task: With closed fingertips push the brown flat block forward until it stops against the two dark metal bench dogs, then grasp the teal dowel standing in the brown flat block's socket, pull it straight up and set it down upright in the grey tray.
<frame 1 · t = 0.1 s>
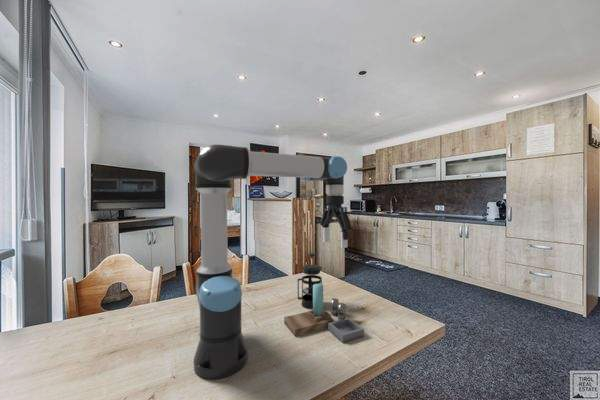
hand: (334, 244, 107), 28 cm above the table, fingers open, 13 cm apart
bench dogs: (338, 316, 100), on the table
brown flat block: (308, 326, 94), on the table, touching dowel
dowel: (318, 316, 96), point 2 cm above the table, touching brown flat block
french press: (310, 305, 112), on the table
tray: (345, 333, 88), on the table
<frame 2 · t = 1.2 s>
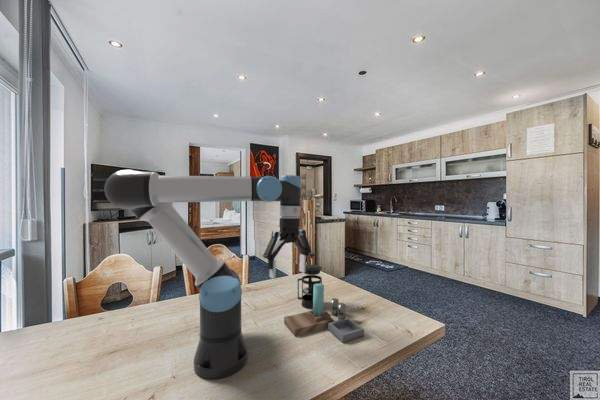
hand: (287, 274, 92), 20 cm above the table, fingers open, 13 cm apart
nothing on the table moved.
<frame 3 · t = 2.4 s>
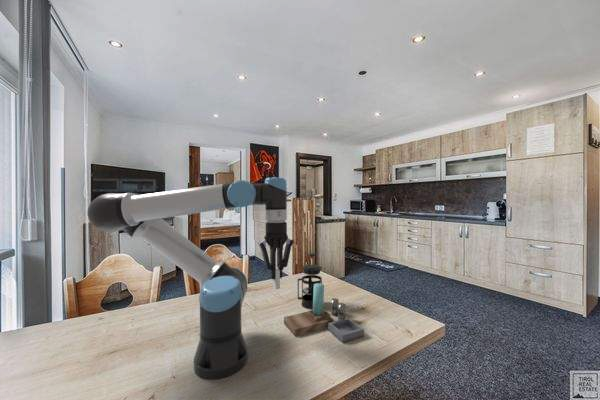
hand: (276, 287, 88), 16 cm above the table, fingers closed
brown flat block: (308, 326, 95), on the table
dowel: (317, 315, 96), point 2 cm above the table
everything else where it was.
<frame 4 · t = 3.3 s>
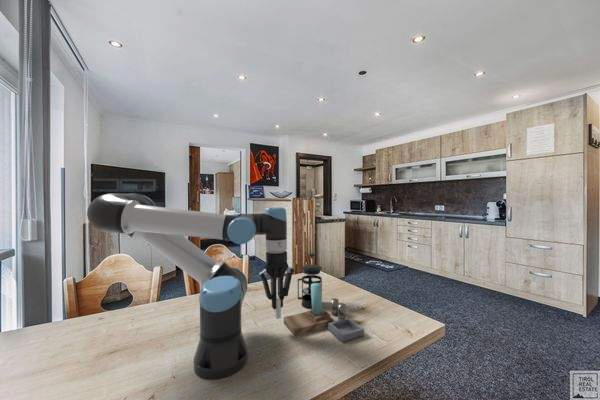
hand: (277, 316, 89), 6 cm above the table, fingers closed
brown flat block: (308, 326, 95), on the table, touching dowel
dowel: (317, 315, 96), point 2 cm above the table, touching brown flat block
everything else where it was.
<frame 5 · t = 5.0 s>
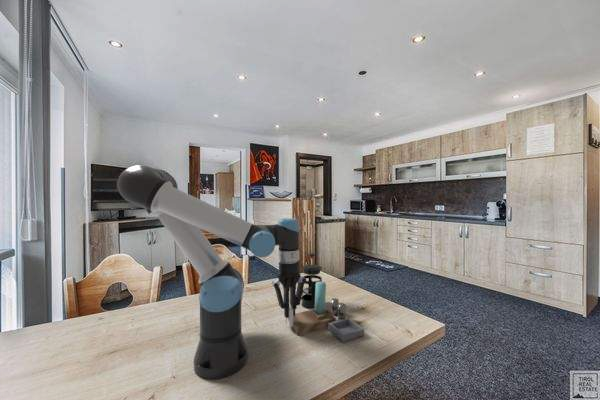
hand: (289, 325, 91), 2 cm above the table, fingers closed
brown flat block: (310, 324, 95), on the table, touching gripper
dowel: (319, 314, 97), point 3 cm above the table
everything else where it was.
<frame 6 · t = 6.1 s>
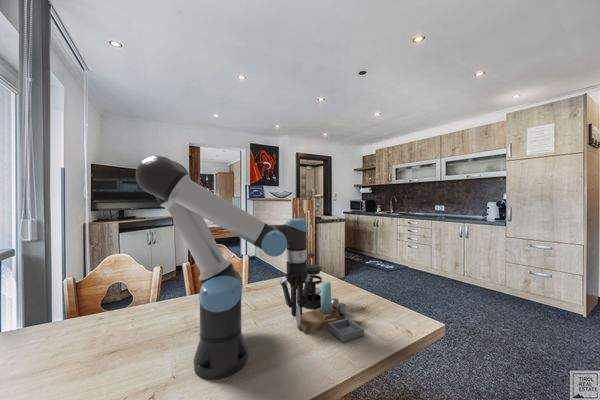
hand: (296, 323, 92), 1 cm above the table, fingers closed
brown flat block: (317, 324, 96), on the table
dowel: (326, 313, 98), point 2 cm above the table
everything else where it was.
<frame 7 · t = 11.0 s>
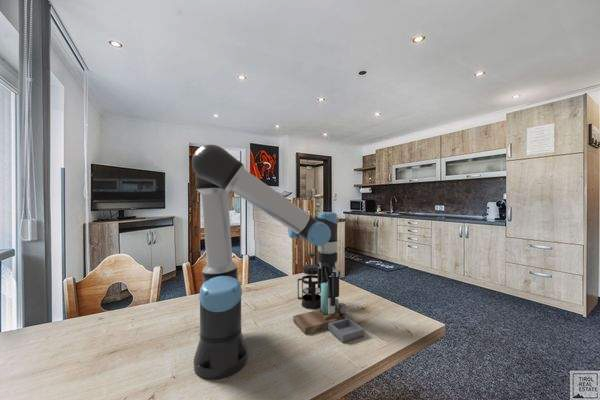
hand: (327, 310, 98), 4 cm above the table, fingers open, 5 cm apart
brown flat block: (317, 324, 96), on the table, touching gripper
everything else where it was.
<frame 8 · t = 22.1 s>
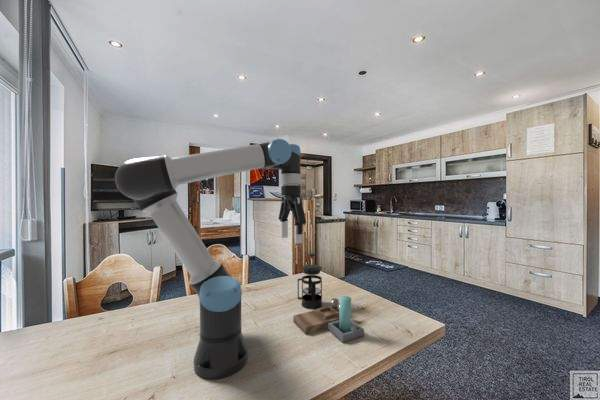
hand: (291, 240, 96), 32 cm above the table, fingers open, 13 cm apart
brown flat block: (317, 324, 96), on the table
dowel: (344, 331, 88), point 1 cm above the table, touching tray
everything else where it was.
at the end: dowel 0.5 cm off-centre on the tray, point 0.7 cm above the tray's base; dowel tilted 2°; brown flat block 0.7 cm from the target spot, on the table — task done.
